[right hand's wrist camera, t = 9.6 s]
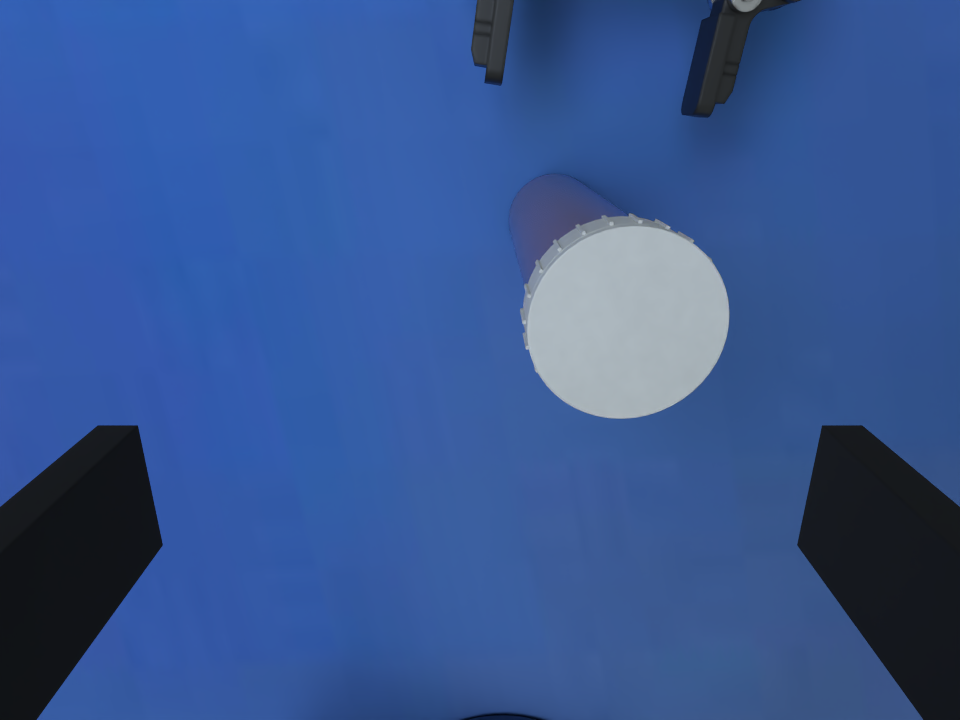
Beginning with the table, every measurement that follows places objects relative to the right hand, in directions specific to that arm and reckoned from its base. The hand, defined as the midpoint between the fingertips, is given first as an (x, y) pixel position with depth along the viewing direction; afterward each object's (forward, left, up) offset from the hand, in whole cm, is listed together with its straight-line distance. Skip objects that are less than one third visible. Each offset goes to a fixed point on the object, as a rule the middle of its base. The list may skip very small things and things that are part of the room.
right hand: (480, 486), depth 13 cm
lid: (-2, -4, -6) cm, 7 cm away
